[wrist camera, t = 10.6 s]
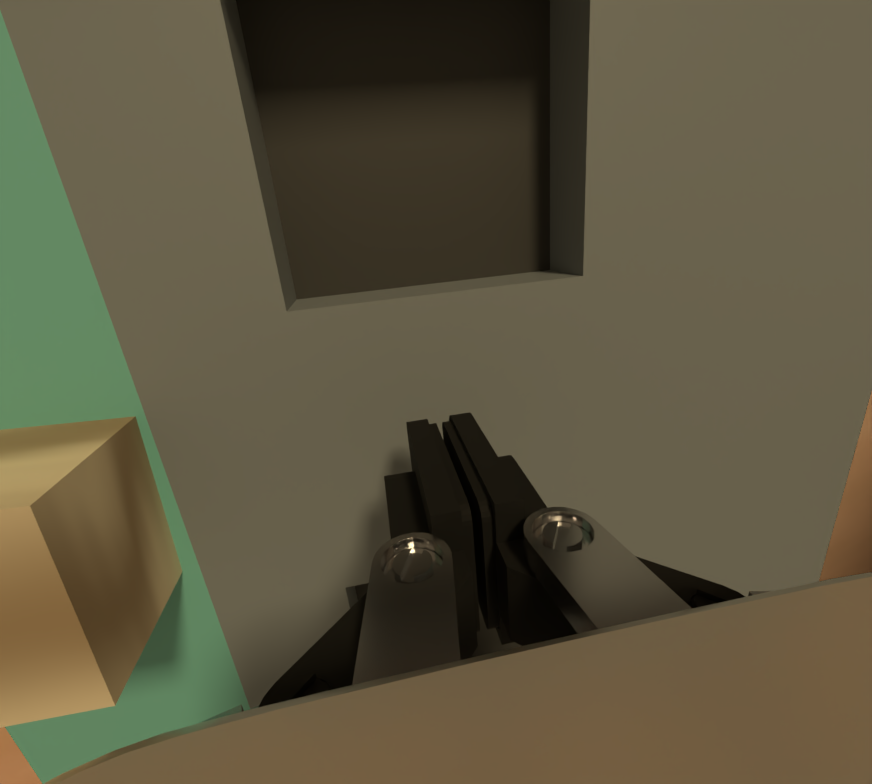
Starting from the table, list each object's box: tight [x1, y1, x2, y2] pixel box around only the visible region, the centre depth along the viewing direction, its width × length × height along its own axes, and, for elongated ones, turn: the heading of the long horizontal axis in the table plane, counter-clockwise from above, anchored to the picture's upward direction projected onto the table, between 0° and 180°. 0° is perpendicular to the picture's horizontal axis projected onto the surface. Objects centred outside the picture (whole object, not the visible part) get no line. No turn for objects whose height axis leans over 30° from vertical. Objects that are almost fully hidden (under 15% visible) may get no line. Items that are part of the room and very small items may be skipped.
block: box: [0, 416, 182, 728], centre depth 10 cm, size 5×5×4 cm
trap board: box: [0, 0, 872, 784], centre depth 13 cm, size 28×30×4 cm
